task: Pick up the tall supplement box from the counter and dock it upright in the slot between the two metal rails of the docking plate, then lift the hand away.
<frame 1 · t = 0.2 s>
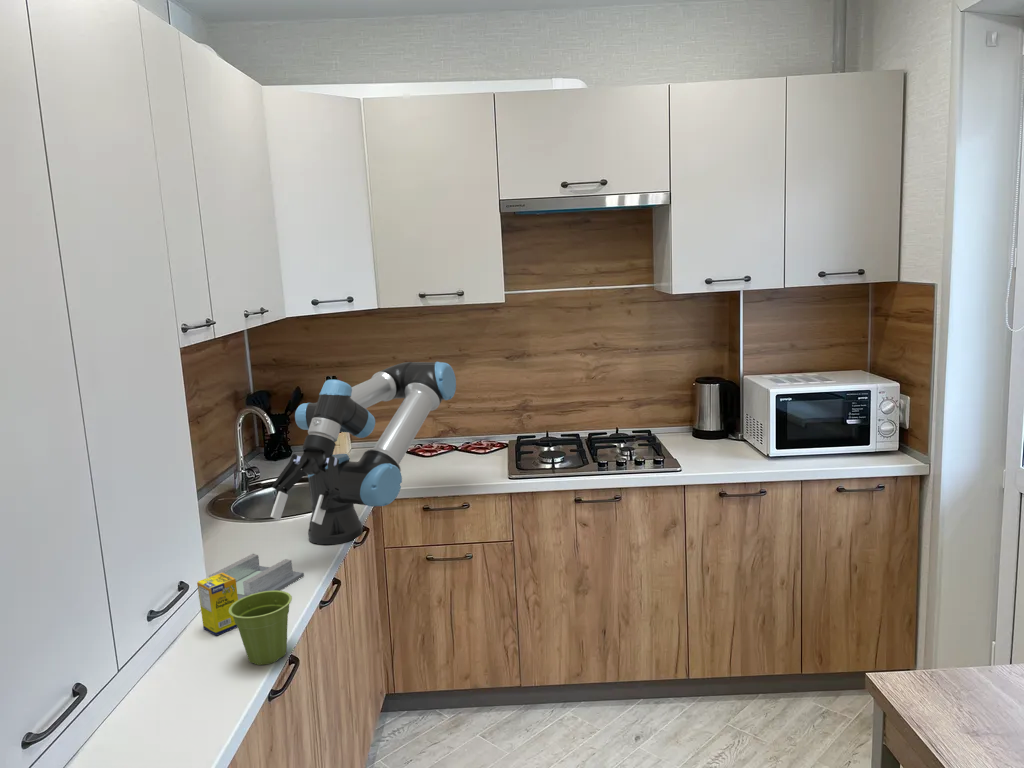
hand: (295, 520, 179), 16 cm above the counter, tool tilted 35°, fingers open, 13 cm apart
plant pot: (267, 657, 147), on the counter
supplement box: (222, 628, 161), on the counter
docking plate: (253, 587, 181), on the counter
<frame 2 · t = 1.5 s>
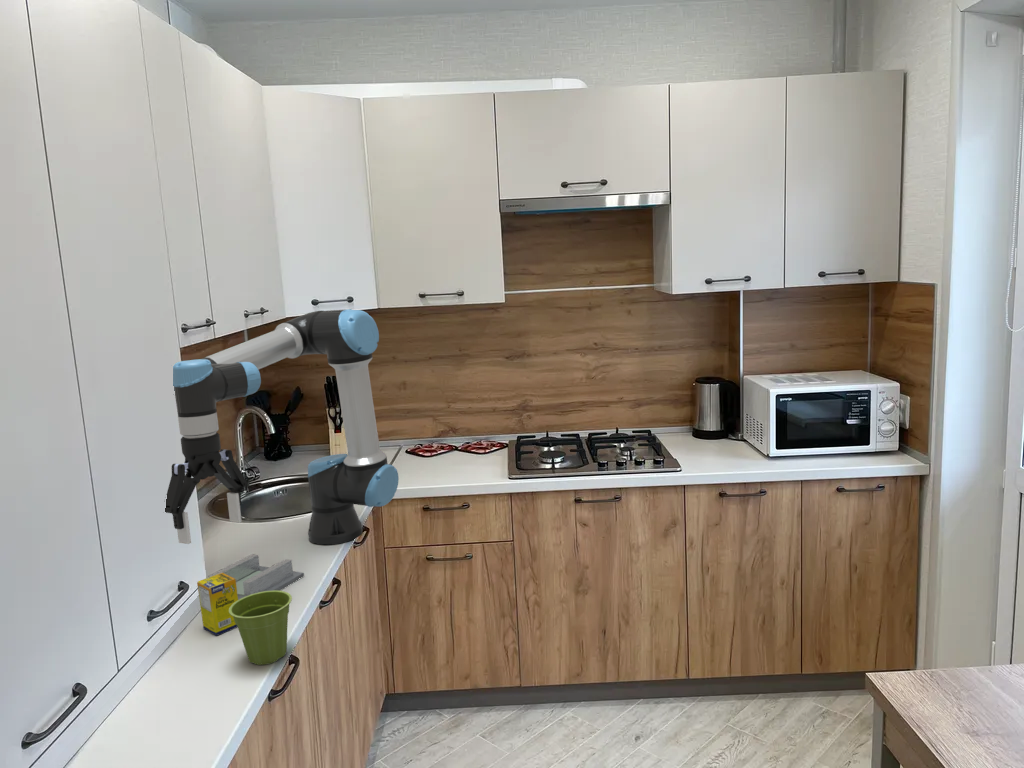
hand: (211, 532, 158), 22 cm above the counter, tool pointing down, fingers open, 13 cm apart
nothing on the counter moved.
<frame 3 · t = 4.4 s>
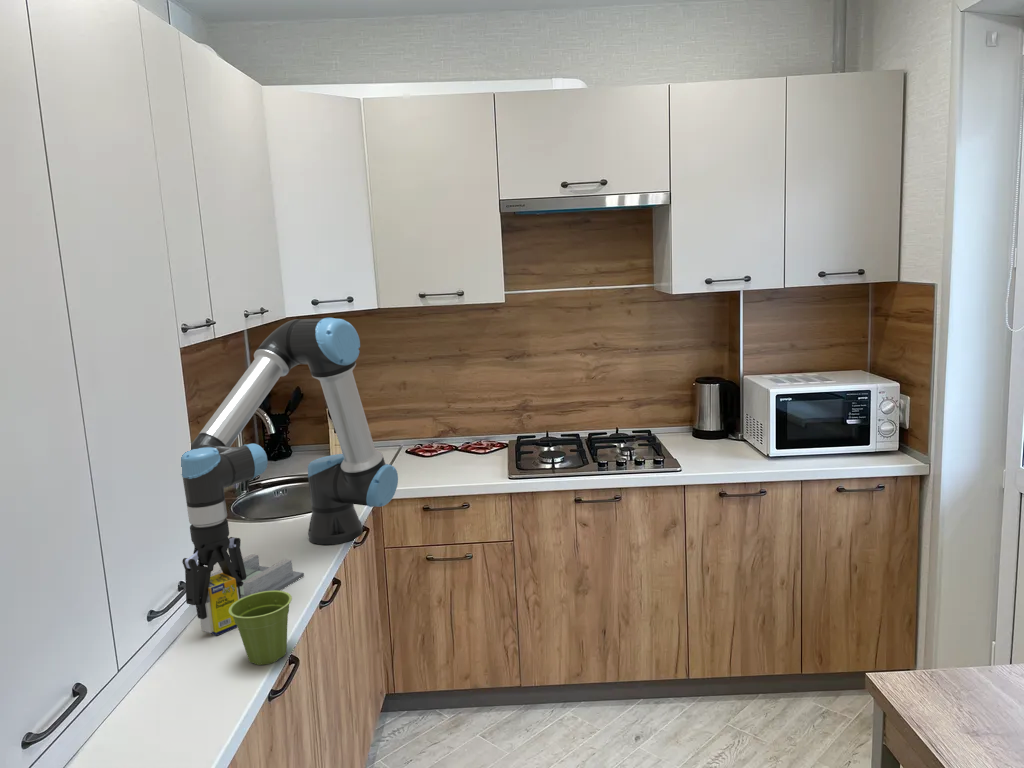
hand: (222, 622, 161), 1 cm above the counter, tool pointing down, fingers closed on supplement box, 7 cm apart
supplement box: (222, 628, 161), on the counter, touching gripper
everything else where it was.
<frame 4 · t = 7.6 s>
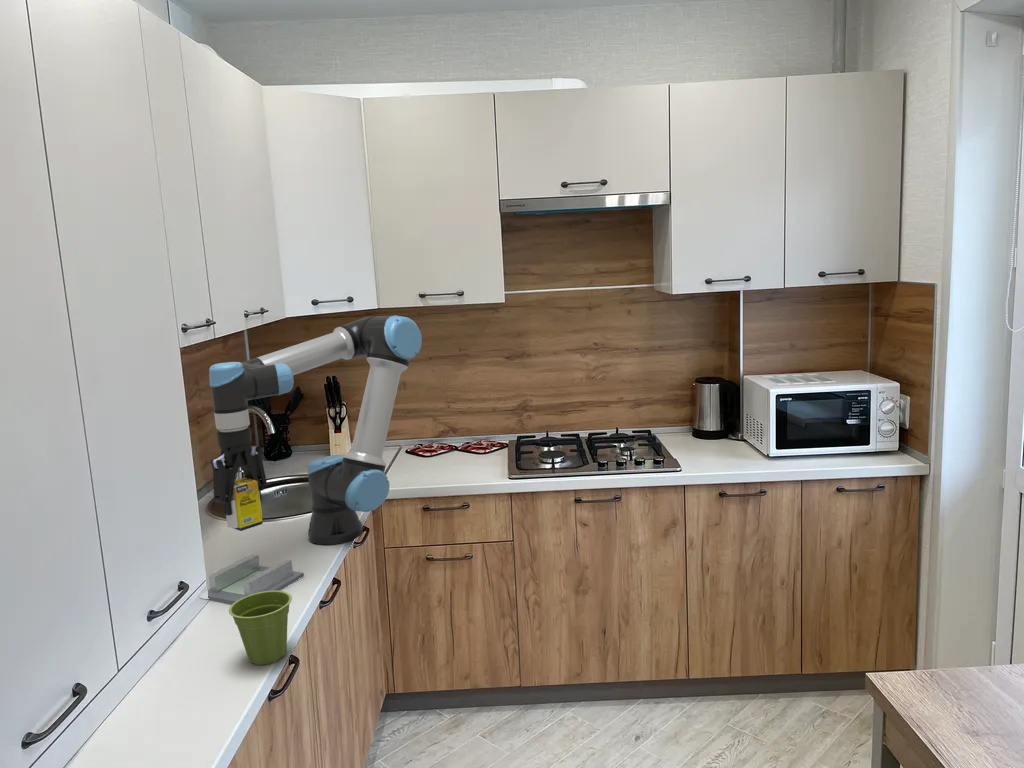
hand: (245, 521, 178), 17 cm above the counter, tool pointing down, fingers closed on supplement box, 7 cm apart
supplement box: (245, 526, 178), point 16 cm above the counter, touching gripper
everything else where it was.
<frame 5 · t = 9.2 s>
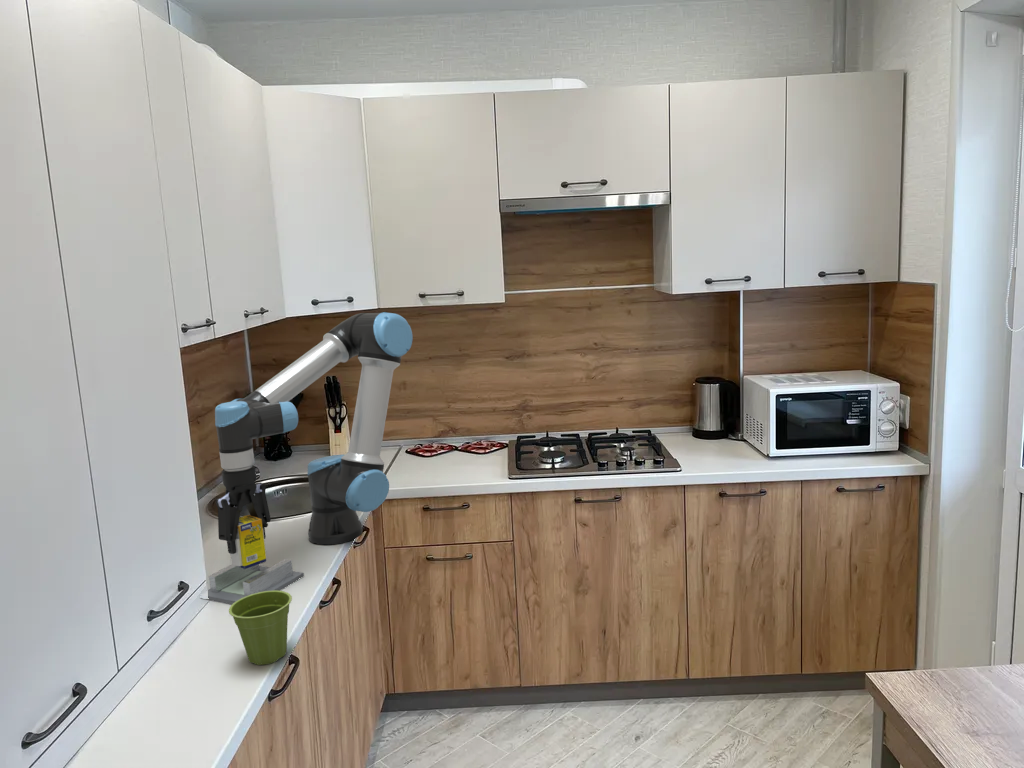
hand: (249, 558, 180), 7 cm above the counter, tool pointing down, fingers closed on supplement box, 7 cm apart
supplement box: (249, 563, 180), point 6 cm above the counter, touching gripper
everything else where it was.
when the fingers open (4 cm above the counter, at t = 10.8 s): supplement box drops 1 cm, resting on docking plate.
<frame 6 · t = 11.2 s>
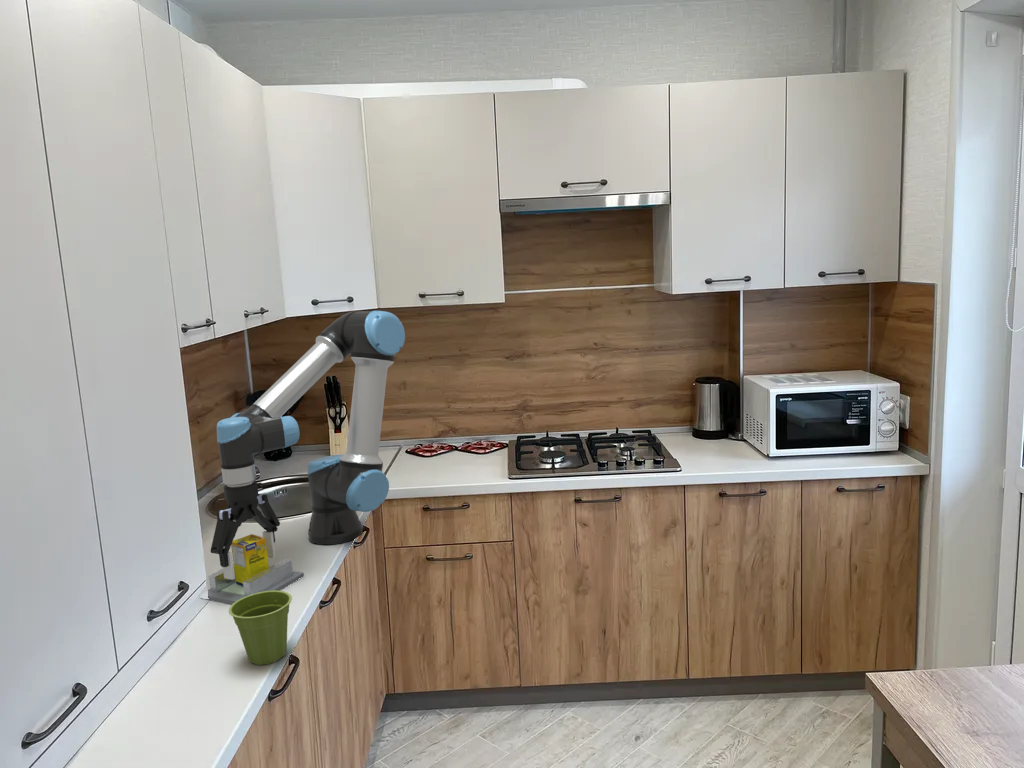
hand: (250, 567, 180), 5 cm above the counter, tool pointing down, fingers open, 13 cm apart
supplement box: (253, 582, 181), point 1 cm above the counter, touching docking plate
everything else where it was.
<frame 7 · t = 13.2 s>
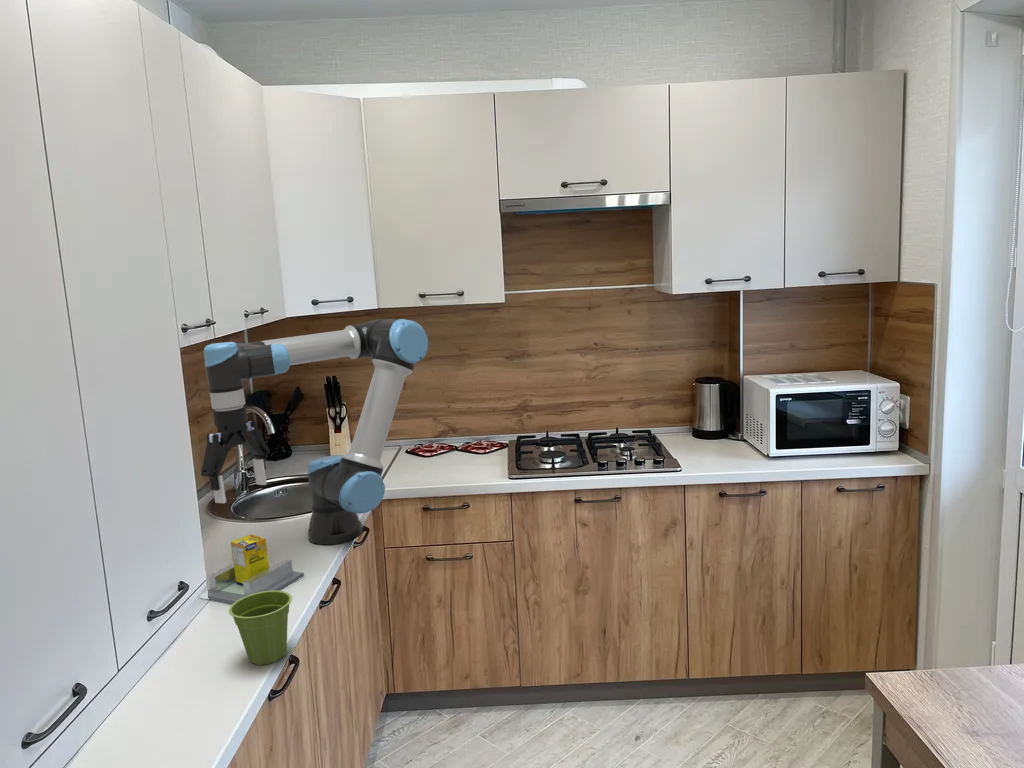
hand: (241, 493, 180), 23 cm above the counter, tool pointing down, fingers open, 13 cm apart
nothing on the counter moved.
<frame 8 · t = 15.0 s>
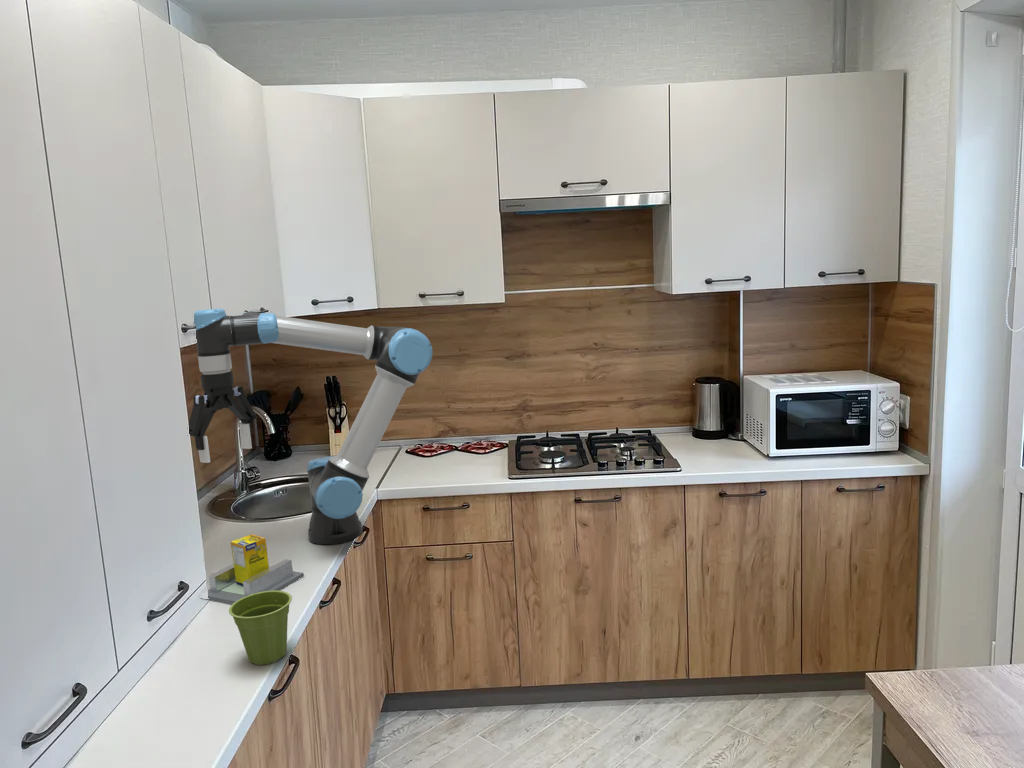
hand: (226, 455, 187), 31 cm above the counter, tool pointing down, fingers open, 13 cm apart
nothing on the counter moved.
at the end: supplement box 0.3 cm off-centre on the docking plate, point 1.0 cm above the docking plate's base; supplement box tilted 0°; the gripper is holding nothing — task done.
